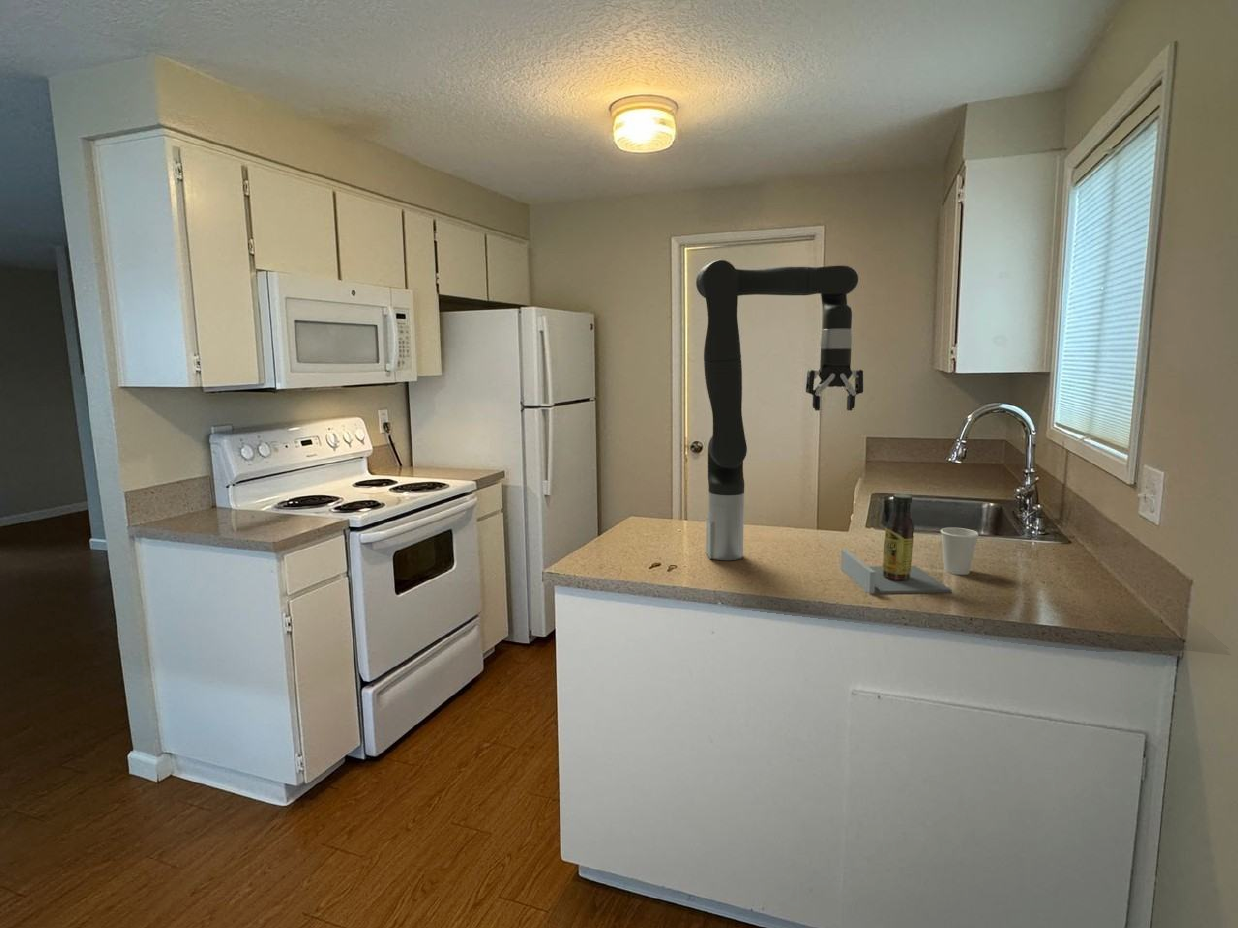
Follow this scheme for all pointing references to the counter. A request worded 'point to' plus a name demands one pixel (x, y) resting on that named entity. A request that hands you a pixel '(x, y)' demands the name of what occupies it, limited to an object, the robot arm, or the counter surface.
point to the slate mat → (908, 583)
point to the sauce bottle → (899, 540)
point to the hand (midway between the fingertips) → (833, 410)
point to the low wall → (858, 571)
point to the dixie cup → (958, 549)
